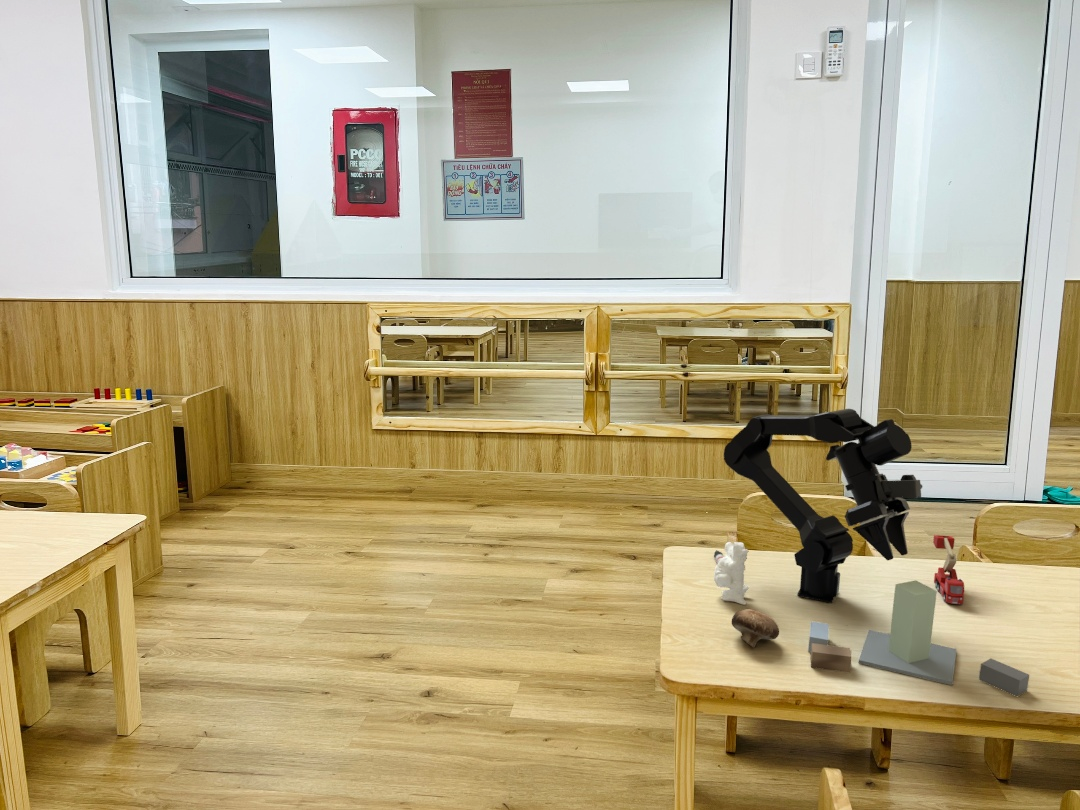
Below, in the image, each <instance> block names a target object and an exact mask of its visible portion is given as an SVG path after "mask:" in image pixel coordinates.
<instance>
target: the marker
mask: <svg viewBox="0 0 1080 810" xmlns="http://www.w3.org/2000/svg"><path fill="white" fill-rule="evenodd" d="M724 556H725V555H724V554H723V553H722V551H719V550H715V552H714V554H713V557H714V560H715V562H716V565H718V563H719V561H720V559H722V558H723V557H724Z"/></svg>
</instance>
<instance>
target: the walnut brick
mask: <svg viewBox="0 0 1080 810" xmlns="http://www.w3.org/2000/svg"><path fill="white" fill-rule="evenodd" d="M851 666H852V652H851V648H850V647H846V646H845V647H844V646H838V645H837V646H836V645H830V644H828V645H823V644H815V643H812V645H811V653H810V668H812V669H818V670H827V671H835V672H843V673H848V674H849V673H851Z"/></svg>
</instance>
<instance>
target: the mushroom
mask: <svg viewBox="0 0 1080 810" xmlns="http://www.w3.org/2000/svg"><path fill="white" fill-rule="evenodd" d="M731 625H732V627H733V629H735V630H736V631H738V632H739V633H740V634H741V636H740V638H741V640H743V641H744V642H746V644H748V645H749V646H751V648H753V649H754V648H755V647H756V644H757V643H758V641H760V640H770V641H771V640H776V639H777V638H778V637H779V635H780V628H779V626H778V625H779V624H777V622H776V621H775V620H774V619H773V618H772V617H771V616H769V615H767V614H765V613H762V612H760V611H758V610H755V609H751V608H750V609H749V608H748V609H741V610H739V611H736V612H735V613H734V614H733V616H732V618H731Z"/></svg>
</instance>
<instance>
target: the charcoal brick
mask: <svg viewBox="0 0 1080 810" xmlns="http://www.w3.org/2000/svg"><path fill="white" fill-rule="evenodd" d="M979 668H980V669H979V675H978V676H979V677H978V680H979V681H980V682H983V683H985V684H988V685H989V684H990V686H992V687H994V686H995V687H994V688H996V687H997V688H996V689H998V688H999V689H998V690H1001V689H1002V690H1001V691H1003V690H1004V691H1003V692H1005V691H1006V692H1005V693H1007V692H1008V694H1010V693H1011V694H1010V695H1012V694H1013V695H1012V696H1014V695H1015V696H1014V697H1016V696H1018V697H1019V695H1020V696H1021V695H1023V694H1025V693H1026V692H1027V691H1028V687H1029V680H1030V674H1029V673H1026V672H1024V671H1022V670H1019V669H1017V668H1014V667H1012V666H1010V665H1007V664H1005V663H1002V662H1000V661H998V660H996V659H994V658H989V659H987V660H985V661H983V662H982V663H980V667H979ZM1024 692H1025V693H1024ZM1022 693H1023V694H1022Z"/></svg>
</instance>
